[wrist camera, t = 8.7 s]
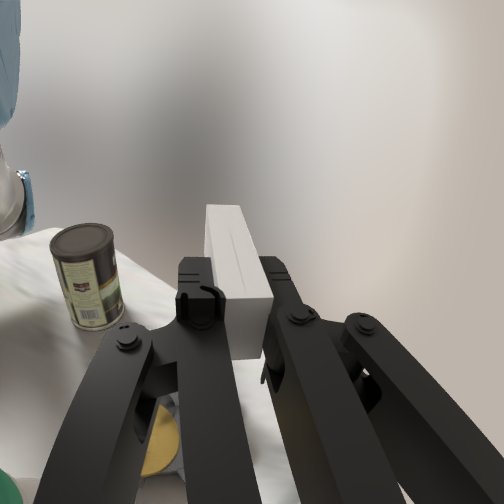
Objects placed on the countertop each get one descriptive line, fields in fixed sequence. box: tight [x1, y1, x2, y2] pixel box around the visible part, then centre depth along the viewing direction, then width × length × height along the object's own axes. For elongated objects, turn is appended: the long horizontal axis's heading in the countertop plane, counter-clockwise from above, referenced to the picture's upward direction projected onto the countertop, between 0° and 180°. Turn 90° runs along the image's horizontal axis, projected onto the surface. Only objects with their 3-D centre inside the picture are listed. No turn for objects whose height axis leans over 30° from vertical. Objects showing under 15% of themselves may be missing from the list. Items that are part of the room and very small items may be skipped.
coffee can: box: [49, 223, 124, 331], centre depth 42 cm, size 10×10×14 cm
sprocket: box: [138, 392, 186, 488], centre depth 27 cm, size 20×20×14 cm
